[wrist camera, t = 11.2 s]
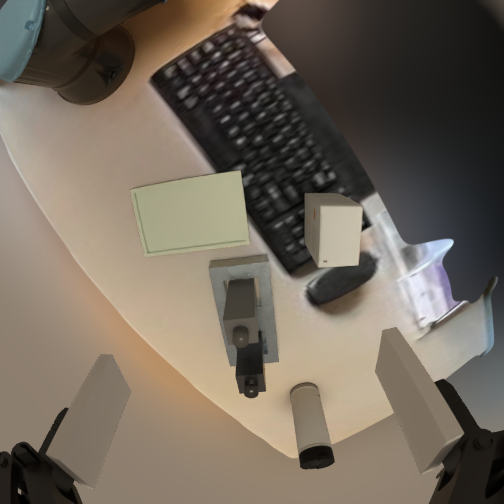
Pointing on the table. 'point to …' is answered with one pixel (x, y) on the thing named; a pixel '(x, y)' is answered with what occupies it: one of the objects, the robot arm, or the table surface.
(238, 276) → the grey stand
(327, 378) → the table surface
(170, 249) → the tray
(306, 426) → the travel mug
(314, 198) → the small box
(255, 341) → the plug
